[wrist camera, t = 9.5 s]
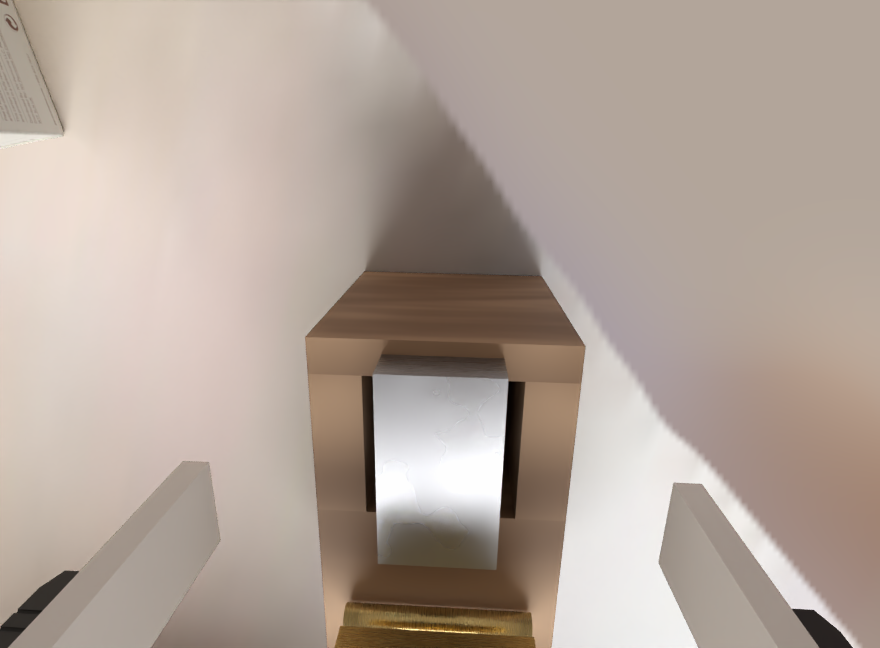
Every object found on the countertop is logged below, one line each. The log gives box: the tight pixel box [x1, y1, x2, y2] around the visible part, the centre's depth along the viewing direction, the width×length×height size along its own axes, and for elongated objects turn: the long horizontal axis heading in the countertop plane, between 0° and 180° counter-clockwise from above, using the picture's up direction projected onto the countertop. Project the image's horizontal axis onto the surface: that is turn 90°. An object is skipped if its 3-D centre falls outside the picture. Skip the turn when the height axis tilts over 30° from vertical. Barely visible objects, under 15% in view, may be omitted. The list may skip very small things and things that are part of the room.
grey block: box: [373, 354, 508, 570], centre depth 21 cm, size 7×4×11 cm, turn 179°
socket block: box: [305, 271, 585, 648], centre depth 24 cm, size 19×9×10 cm, turn 179°
